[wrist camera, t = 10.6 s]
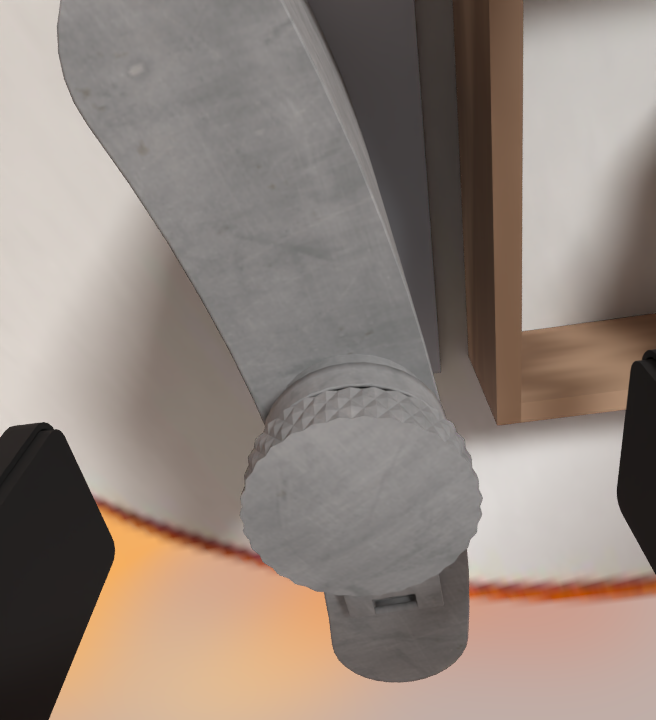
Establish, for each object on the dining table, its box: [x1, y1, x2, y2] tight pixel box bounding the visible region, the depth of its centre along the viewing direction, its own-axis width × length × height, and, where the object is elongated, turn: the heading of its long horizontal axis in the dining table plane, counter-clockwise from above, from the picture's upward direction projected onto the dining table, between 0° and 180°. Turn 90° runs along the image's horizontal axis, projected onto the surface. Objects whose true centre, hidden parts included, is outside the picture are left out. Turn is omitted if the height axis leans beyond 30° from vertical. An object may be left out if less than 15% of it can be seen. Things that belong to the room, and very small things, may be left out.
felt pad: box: [307, 0, 441, 373], centre depth 26 cm, size 9×20×1 cm, turn 9°
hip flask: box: [57, 0, 483, 682], centre depth 18 cm, size 16×4×20 cm, turn 17°
